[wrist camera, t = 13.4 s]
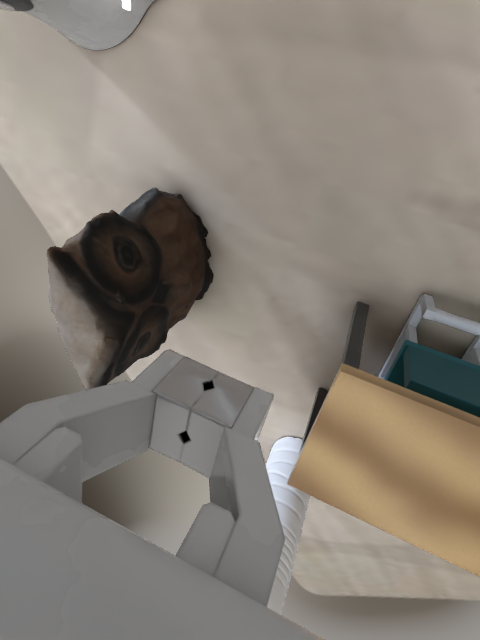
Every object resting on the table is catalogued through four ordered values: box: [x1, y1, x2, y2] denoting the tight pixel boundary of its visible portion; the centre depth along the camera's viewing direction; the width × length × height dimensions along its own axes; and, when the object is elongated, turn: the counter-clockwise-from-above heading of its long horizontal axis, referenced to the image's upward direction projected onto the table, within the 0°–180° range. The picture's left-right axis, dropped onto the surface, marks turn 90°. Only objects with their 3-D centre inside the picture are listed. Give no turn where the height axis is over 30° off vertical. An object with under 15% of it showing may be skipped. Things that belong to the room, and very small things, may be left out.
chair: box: [378, 294, 480, 417], centre depth 34 cm, size 12×8×12 cm, turn 167°
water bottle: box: [266, 437, 310, 615], centre depth 41 cm, size 9×6×25 cm
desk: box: [287, 302, 480, 577], centre depth 35 cm, size 14×18×14 cm
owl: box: [47, 188, 213, 390], centre depth 36 cm, size 13×13×20 cm
